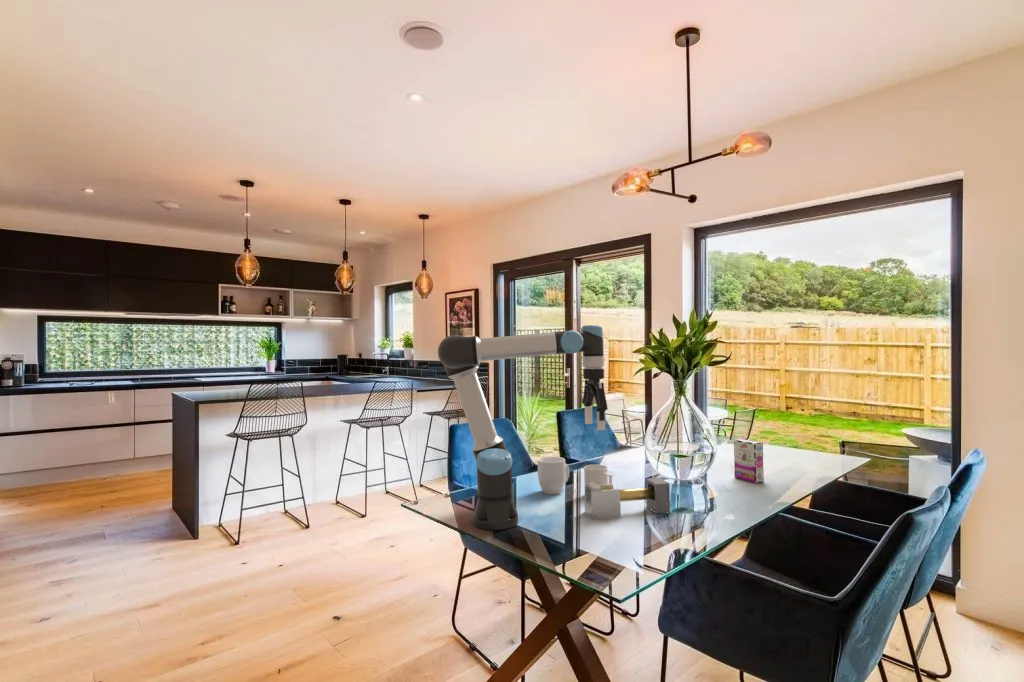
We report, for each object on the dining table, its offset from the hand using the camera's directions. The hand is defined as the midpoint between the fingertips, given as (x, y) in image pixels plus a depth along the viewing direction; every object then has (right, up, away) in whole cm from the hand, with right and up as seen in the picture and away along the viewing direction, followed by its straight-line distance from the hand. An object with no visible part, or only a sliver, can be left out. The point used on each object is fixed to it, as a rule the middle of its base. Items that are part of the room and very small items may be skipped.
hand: (594, 426), depth 194 cm
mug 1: (-13, -29, +20) cm, 38 cm away
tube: (+11, -25, -7) cm, 28 cm away
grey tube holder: (+1, -29, -9) cm, 30 cm away
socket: (+21, -28, -5) cm, 36 cm away
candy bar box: (+69, -27, +31) cm, 81 cm away
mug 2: (+4, -29, +12) cm, 31 cm away
